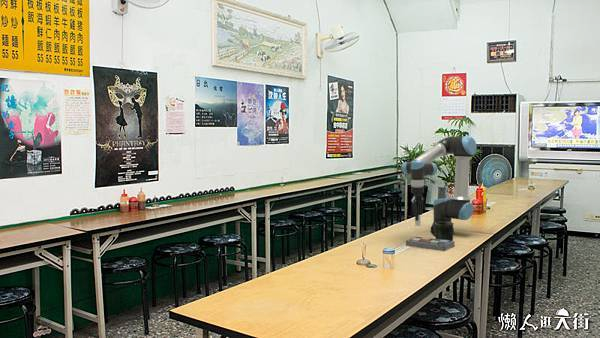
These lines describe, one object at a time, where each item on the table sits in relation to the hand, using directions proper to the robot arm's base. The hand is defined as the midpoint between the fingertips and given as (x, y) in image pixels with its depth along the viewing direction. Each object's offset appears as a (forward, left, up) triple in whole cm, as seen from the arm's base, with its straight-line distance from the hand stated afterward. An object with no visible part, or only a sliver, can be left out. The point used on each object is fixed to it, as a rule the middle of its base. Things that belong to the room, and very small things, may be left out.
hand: (417, 225), depth 311 cm
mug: (-18, +7, -13) cm, 23 cm away
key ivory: (0, -1, -11) cm, 11 cm away
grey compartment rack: (0, +8, -12) cm, 15 cm away
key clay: (0, +5, -10) cm, 11 cm away
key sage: (0, +11, -11) cm, 15 cm away
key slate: (0, +17, -10) cm, 19 cm away
